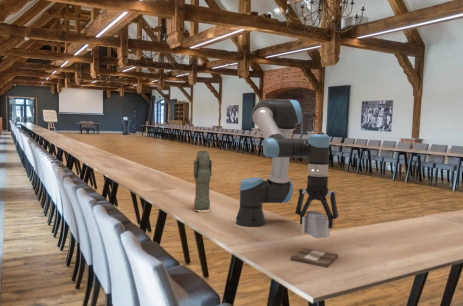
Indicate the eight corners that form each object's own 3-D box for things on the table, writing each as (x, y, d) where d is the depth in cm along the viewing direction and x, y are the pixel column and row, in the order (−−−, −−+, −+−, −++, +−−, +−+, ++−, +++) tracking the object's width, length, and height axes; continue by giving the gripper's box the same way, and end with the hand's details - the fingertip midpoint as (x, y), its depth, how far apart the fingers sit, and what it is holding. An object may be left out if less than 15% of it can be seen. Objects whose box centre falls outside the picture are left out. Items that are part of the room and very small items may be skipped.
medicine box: (326, 238, 147) (326, 214, 146) (315, 238, 145) (316, 215, 145) (315, 232, 154) (316, 210, 154) (305, 233, 153) (306, 211, 152)
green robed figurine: (214, 210, 233) (215, 151, 231) (199, 213, 224) (200, 152, 222) (204, 208, 239) (205, 150, 237) (189, 211, 230) (190, 151, 228)
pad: (303, 250, 160) (303, 247, 160) (337, 256, 153) (338, 253, 153) (290, 260, 148) (290, 256, 148) (327, 267, 141) (327, 263, 141)
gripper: (287, 174, 151) (285, 232, 152) (343, 178, 140) (341, 241, 141) (294, 172, 157) (292, 228, 158) (348, 176, 147) (346, 236, 148)
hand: (315, 234), depth 150 cm, fingers closed on medicine box, 8 cm apart
